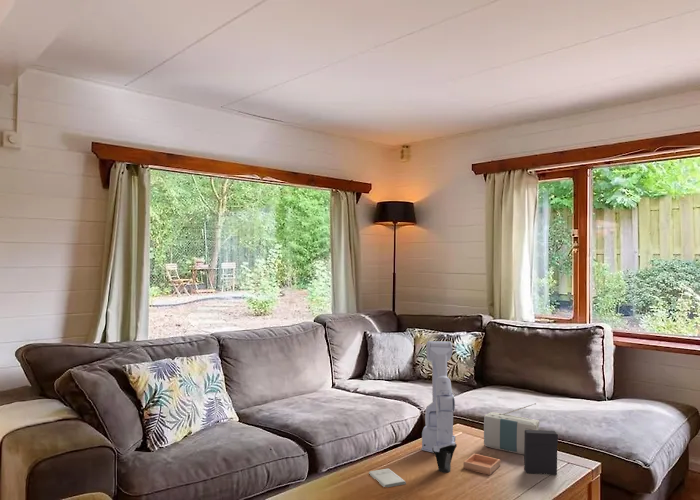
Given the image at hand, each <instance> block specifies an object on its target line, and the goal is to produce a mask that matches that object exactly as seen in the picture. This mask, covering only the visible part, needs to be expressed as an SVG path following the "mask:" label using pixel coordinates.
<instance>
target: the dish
mask: <svg viewBox="0 0 700 500" xmlns="http://www.w3.org/2000/svg"><path fill="white" fill-rule="evenodd" d="M500 467H501V459H499V458H495V457H490V456H487V455H482V454H479V453H473V454H471V455H470V456H469V457H468V458H466V459H465V460H463V469H465V470H469V471H471V472H476V473H481V474H484V475H489V476H491V475H492V474H493V473H494V472H495V471H496V470H498V469H499V468H500Z"/></svg>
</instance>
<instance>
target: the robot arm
mask: <svg viewBox="0 0 700 500" xmlns="http://www.w3.org/2000/svg"><path fill="white" fill-rule="evenodd" d="M425 348H426V350H425V351H426V360H427V361H428V362H431V367H432V371H431V372H432V374H431V376H432V378H431V379H432V383H431V384H432V400H431V401H432V402H431V403H430V404H428V405H427V406H426V407H425V413H424V421H425V426H424V427H423V429H422V432H421V448H420V450H421V451H425V452H430V453H431V454H432V453H433V454H434V456H435V460H436V464H437V467H438V468H441V469H444V467H445V461H446V456H447V454H448V452H451V461H453V456H454V452H455V450H456V448H457V445H458V444H457V443H456V435H454V433H453V432H454V412H455V411H456V410H455V409H456V400H455V396H454V392H453V391H452V390H453V389H452V382H451V381H452V380H451V379H450V378H449V377H448V362H449V361H450V360H451V357H452V356H453V343H452V341H451V340H449V341H446V340H445V341H444V340H443V341H440V340H439V341H438V340H428V341H426V347H425Z"/></svg>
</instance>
